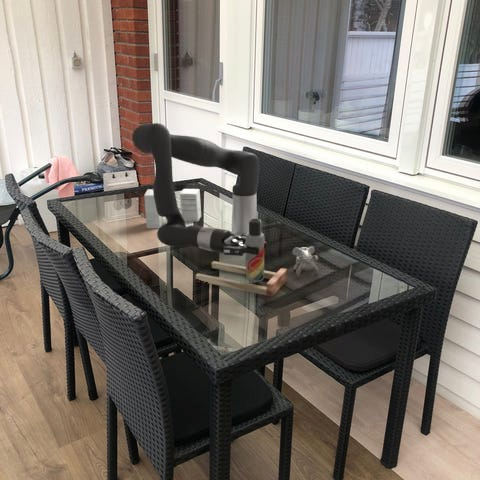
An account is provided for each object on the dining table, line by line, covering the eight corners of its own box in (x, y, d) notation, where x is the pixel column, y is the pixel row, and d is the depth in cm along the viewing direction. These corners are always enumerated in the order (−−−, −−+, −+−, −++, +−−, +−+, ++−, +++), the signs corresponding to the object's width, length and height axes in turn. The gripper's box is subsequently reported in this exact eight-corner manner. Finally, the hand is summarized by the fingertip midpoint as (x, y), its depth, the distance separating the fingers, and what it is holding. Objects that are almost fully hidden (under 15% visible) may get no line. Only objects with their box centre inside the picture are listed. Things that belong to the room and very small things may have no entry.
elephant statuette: (300, 280, 164) (301, 259, 161) (282, 264, 174) (283, 244, 171) (324, 274, 168) (326, 253, 165) (305, 259, 178) (306, 239, 174)
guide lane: (214, 266, 175) (213, 255, 173) (287, 280, 163) (287, 269, 162) (196, 280, 165) (195, 269, 163) (272, 296, 153) (272, 284, 152)
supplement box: (185, 215, 225) (183, 188, 220) (201, 216, 224) (200, 188, 219) (181, 221, 218) (179, 193, 213) (198, 222, 217) (196, 193, 212)
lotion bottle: (262, 283, 158) (262, 223, 151) (244, 281, 159) (244, 222, 152) (265, 275, 163) (265, 217, 156) (247, 274, 164) (247, 216, 157)
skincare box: (150, 222, 218) (146, 188, 213) (164, 221, 218) (161, 188, 213) (146, 229, 210) (143, 194, 205) (161, 228, 210) (157, 194, 205)
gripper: (202, 236, 156) (252, 245, 149) (224, 221, 168) (272, 229, 160) (203, 258, 159) (252, 268, 151) (225, 242, 170) (271, 251, 163)
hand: (262, 248), depth 156 cm, fingers closed on lotion bottle, 4 cm apart
